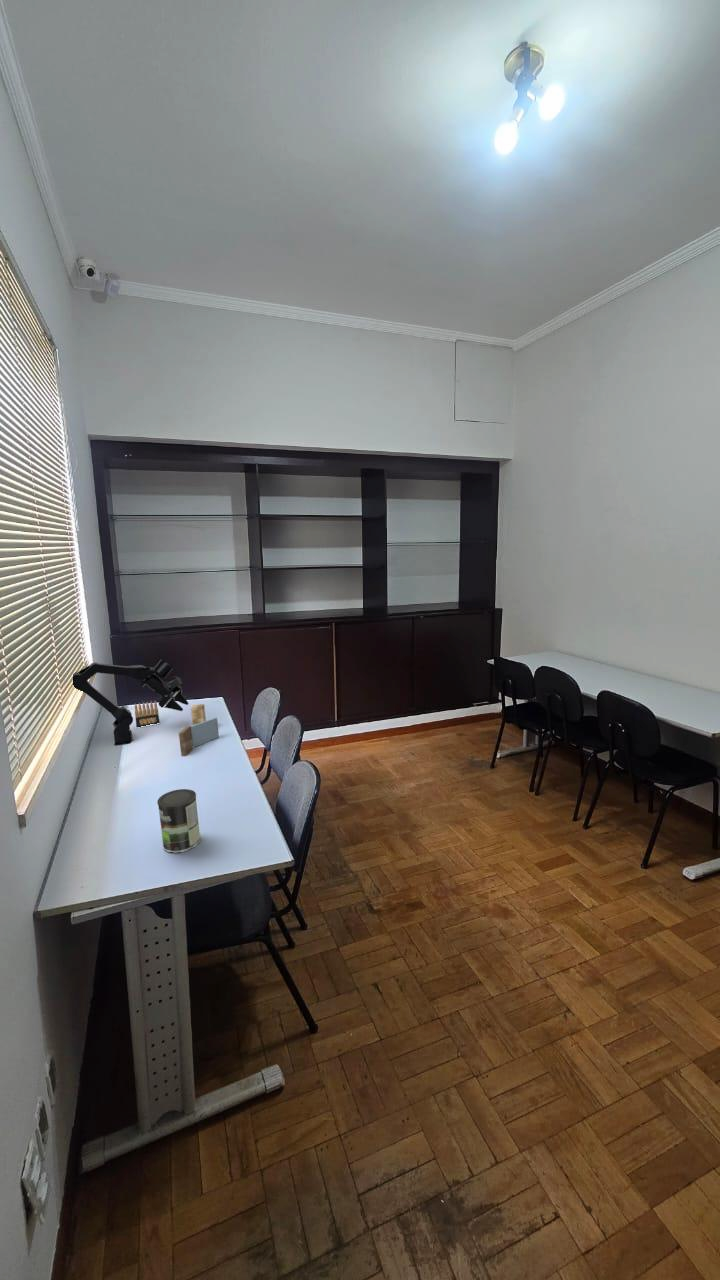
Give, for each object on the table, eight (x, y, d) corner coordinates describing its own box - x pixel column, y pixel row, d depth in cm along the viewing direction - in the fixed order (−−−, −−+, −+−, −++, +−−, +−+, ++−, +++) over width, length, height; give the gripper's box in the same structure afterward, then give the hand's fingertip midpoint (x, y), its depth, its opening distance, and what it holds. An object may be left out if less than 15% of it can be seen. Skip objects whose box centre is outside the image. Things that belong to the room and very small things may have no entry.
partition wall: (181, 756, 210) (178, 732, 208) (188, 748, 218) (186, 726, 216) (186, 755, 210) (183, 732, 208) (193, 748, 218) (190, 725, 216)
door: (192, 746, 220) (190, 726, 218) (217, 736, 230) (215, 717, 228) (193, 746, 219) (191, 726, 217) (219, 737, 229) (217, 717, 227)
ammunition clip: (136, 728, 248) (133, 704, 245) (136, 726, 249) (133, 703, 247) (160, 724, 252) (157, 700, 249) (159, 723, 253) (157, 699, 251)
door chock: (193, 733, 236) (190, 707, 234) (195, 730, 240) (193, 704, 238) (204, 732, 236) (202, 706, 234) (206, 729, 240) (204, 704, 238)
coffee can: (172, 858, 140) (167, 810, 137) (157, 843, 147) (151, 798, 144) (207, 842, 147) (202, 796, 144) (190, 829, 154) (185, 785, 151)
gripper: (162, 677, 223) (191, 700, 226) (175, 667, 242) (201, 688, 244) (146, 696, 224) (175, 718, 227) (160, 685, 243) (186, 705, 245)
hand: (185, 707), depth 236 cm, fingers open, 9 cm apart
